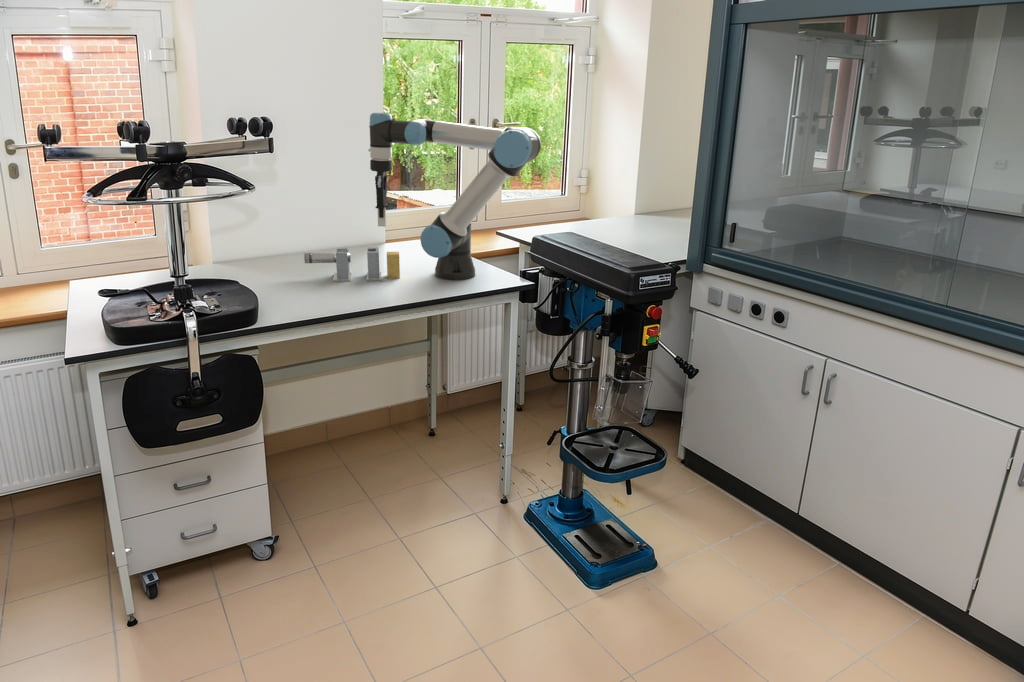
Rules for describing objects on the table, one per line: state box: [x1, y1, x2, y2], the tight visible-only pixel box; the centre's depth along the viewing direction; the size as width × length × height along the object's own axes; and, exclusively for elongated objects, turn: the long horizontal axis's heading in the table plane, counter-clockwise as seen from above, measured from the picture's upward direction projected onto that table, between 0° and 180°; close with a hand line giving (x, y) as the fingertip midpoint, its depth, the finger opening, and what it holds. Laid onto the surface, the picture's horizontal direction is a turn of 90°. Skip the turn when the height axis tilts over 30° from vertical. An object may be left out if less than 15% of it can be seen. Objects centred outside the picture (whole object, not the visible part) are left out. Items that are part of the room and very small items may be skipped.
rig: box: [332, 246, 382, 283], centre depth 268 cm, size 17×10×10 cm, turn 99°
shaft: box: [303, 252, 352, 264], centre depth 266 cm, size 16×4×4 cm, turn 99°
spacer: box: [386, 251, 401, 280], centre depth 270 cm, size 4×4×9 cm
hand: (381, 225), depth 265 cm, fingers closed
